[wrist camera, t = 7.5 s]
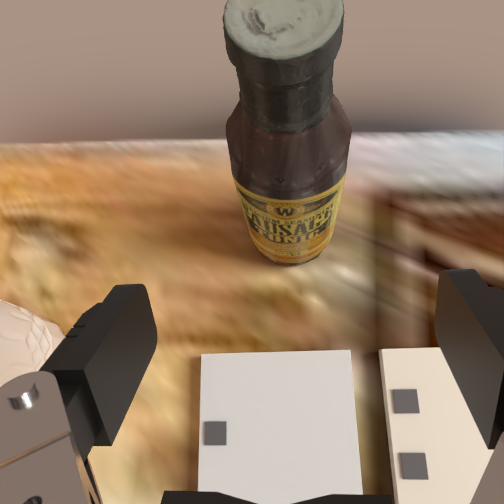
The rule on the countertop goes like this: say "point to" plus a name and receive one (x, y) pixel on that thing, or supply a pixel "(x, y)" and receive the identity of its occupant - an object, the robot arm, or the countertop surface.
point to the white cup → (24, 341)
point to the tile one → (278, 426)
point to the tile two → (429, 430)
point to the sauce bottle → (287, 123)
